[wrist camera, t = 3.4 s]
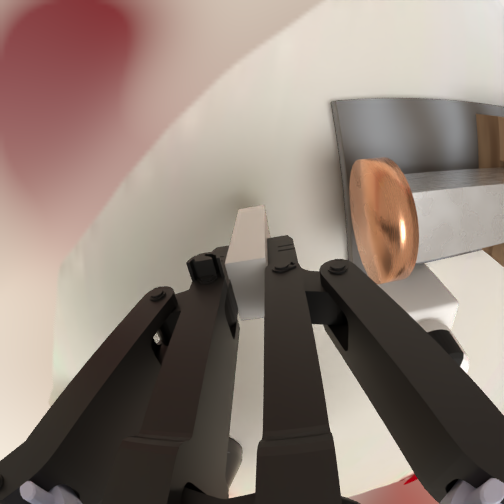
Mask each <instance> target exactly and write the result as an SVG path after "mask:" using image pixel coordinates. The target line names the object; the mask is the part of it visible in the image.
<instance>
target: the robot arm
mask: <svg viewBox="0 0 504 504" xmlns="http://www.w3.org/2000/svg"><path fill="white" fill-rule="evenodd" d="M186 264H187V267H188V270H189V273H190V276H191V279H192V284H191V286H190V289H189V290H187V291H185V292H181V293H178V294H175V293H174V291H173V289H172V288H171V287H167V286H164V287H158V288H154V289H153V290H151V291H149V292H148V293H147V294H146V295H145V296H144V297H143V298H142V299H141V300H140V301H139V302H138V303H137V305H136V306H135V307H134V308H133V309H132V310H131V311H130V312H129V314H128V315H127V316H126V317H125V318H124V319H123V320H122V322H121V323H120V324H119V325H118V326H117V327H116V328H115V330H114V331H113V332H112V333H111V334H110V335H109V336H108V338H107V339H106V340H105V341H104V342H103V344H102V345H101V346H100V347H99V348H98V349H97V351H96V352H95V353H94V354H93V355H92V357H91V358H90V359H89V360H88V361H87V363H86V364H85V365H84V366H83V367H82V369H81V370H80V371H79V372H78V374H77V375H76V376H75V377H74V378H73V380H72V381H71V382H70V383H69V385H68V386H67V387H66V388H65V390H64V391H63V392H62V393H61V395H60V396H59V397H58V399H57V400H56V401H55V402H54V404H53V405H52V406H51V408H50V409H49V410H48V411H47V413H46V414H45V416H44V417H43V418H42V419H41V421H40V422H39V424H38V425H37V426H36V427H35V429H34V430H33V432H32V433H31V434H30V436H29V437H28V438H27V440H26V441H25V442H24V443H23V444H21V445H20V446H19V447H18V448H16V449H15V450H14V451H12V452H11V453H10V454H9V455H7V456H6V457H5V458H4V459H2V460H1V461H0V504H360V503H358V502H356V501H354V500H351V499H349V498H346V497H342V496H341V494H340V485H339V477H338V469H337V461H336V454H335V447H334V441H333V436H332V433H331V432H330V428H329V421H328V415H327V408H326V402H325V396H324V390H323V384H322V378H321V372H320V366H319V361H318V355H317V349H316V344H315V339H314V333H313V328H312V324H323V325H324V328H325V331H326V332H327V334H328V335H329V337H330V338H331V340H332V341H333V343H334V345H335V346H336V348H337V349H338V351H339V352H340V354H341V355H342V357H343V359H344V360H345V362H346V363H347V365H348V366H349V368H350V370H351V371H352V373H353V374H354V376H355V377H356V379H357V381H358V382H359V384H360V385H361V387H362V388H363V390H364V392H365V393H366V395H367V396H368V398H369V400H370V401H371V403H372V404H373V406H374V408H375V409H376V411H377V412H378V414H379V416H380V417H381V419H382V420H383V422H384V424H385V425H386V427H387V429H388V430H389V432H390V433H391V435H392V437H393V438H394V440H395V442H396V443H397V445H398V447H399V448H400V450H401V451H402V453H403V455H404V456H405V458H406V460H407V461H408V463H409V465H410V466H411V468H412V470H413V471H414V473H415V475H416V476H417V478H418V479H419V481H420V482H421V484H422V485H423V486H424V488H425V489H426V490H427V491H428V492H429V494H430V495H431V496H432V497H433V498H434V499H435V500H436V501H437V502H439V504H504V416H503V414H502V413H501V412H500V411H499V410H498V408H497V407H496V406H495V405H494V404H493V403H492V401H491V400H490V399H489V398H488V397H487V396H486V395H485V393H484V392H483V391H482V390H481V389H480V388H479V387H478V386H477V384H476V383H475V382H474V381H473V380H472V379H471V378H470V377H469V376H468V375H467V373H466V372H465V371H464V370H463V369H462V368H461V367H460V366H459V365H458V364H457V363H456V362H455V361H454V360H453V358H452V357H451V356H450V355H449V354H448V353H447V352H446V351H445V350H444V349H443V348H442V347H441V346H440V345H439V344H438V343H437V342H436V341H435V340H434V339H433V338H432V337H431V336H430V335H429V334H428V333H427V332H426V331H425V330H424V329H423V328H422V327H421V326H420V325H419V324H418V323H417V322H416V321H415V320H414V319H413V318H412V317H411V316H410V315H409V314H408V313H407V312H406V311H405V310H404V309H403V308H402V307H401V306H400V305H398V304H397V303H396V302H395V301H394V300H393V299H392V298H391V297H390V296H389V295H388V294H387V293H386V292H385V291H384V290H383V289H381V288H380V287H379V286H378V285H377V284H376V283H375V282H374V281H373V280H372V279H371V278H369V277H368V276H367V275H366V274H365V273H364V272H363V271H362V270H361V269H360V268H358V267H357V266H356V265H355V264H354V263H352V262H350V261H348V260H343V259H335V260H331V261H328V262H326V263H324V264H323V265H322V266H321V267H320V272H318V271H308V270H305V269H302V268H301V267H300V265H299V264H298V261H297V256H296V252H295V247H294V243H293V239H292V238H291V237H289V236H288V235H286V236H280V237H273V238H270V232H269V227H268V222H267V216H266V211H265V206H264V205H259V206H254V207H248V208H242V209H238V213H237V217H236V221H235V225H234V229H233V233H232V237H231V241H230V245H229V246H224V247H218V248H216V249H215V250H213V251H212V252H208V253H202V254H199V255H197V256H194V257H192V258H191V259H190V260H188V262H187V263H186ZM238 313H239V317H240V320H249V319H257V318H264V402H263V437H262V440H261V441H260V442H259V444H258V449H257V466H256V492H255V493H253V494H249V495H244V496H240V497H234V498H229V494H228V492H229V488H230V485H231V483H232V481H233V479H234V477H235V475H236V473H237V471H238V469H239V467H240V465H241V462H242V448H241V446H240V445H239V444H238V443H237V442H235V441H234V440H232V439H231V438H229V430H230V420H231V410H232V400H233V390H234V380H235V370H236V360H237V350H238V340H239V330H240V328H239V323H238V320H237V314H238ZM156 332H157V334H158V336H159V338H160V341H159V342H158V343H157V344H156V343H155V341H154V339H153V337H154V335H155V334H156Z"/></svg>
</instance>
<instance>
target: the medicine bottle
mask: <svg viewBox="0 0 504 504" xmlns="http://www.w3.org/2000/svg"><path fill="white" fill-rule="evenodd" d="M367 276H368V275H367ZM368 277H369V276H368ZM377 285H378V286H379V287H380V288H381V289H383V290H384V291H385V292H386V293H387V294H388V295H389V296H390V297H391V298H392V299H393V300H394V301H395V302H396V303H397V304H398V305H400V306H401V307H402V308H403V309H404V310H405V311H406V312H407V313H408V314H409V315H410V316H411V317H412V318H413V319H414V320H415V321H416V322H417V323H418V324H419V325H420V326H421V327H422V328H423V329H424V330H425V331H426V332H427V333H428V334H429V335H430V336H431V337H432V338H433V339H434V340H435V341H436V342H437V343H438V344H439V345H440V346H441V347H442V348H443V349H444V350H445V351H446V352H447V353H448V354H449V355H450V356H451V357H452V358H453V360H454V361H455V362H456V363H457V364H458V365H459V366H460V367H461V368H462V369H463V370H464V371H465V372H466V373H467V372H468V369H469V358H468V356H467V354H466V353H465V351H464V350H463V348H462V346H461V345H460V343H459V342H458V340H457V339H456V338H455V336H454V335H453V333H452V332H451V328H452V325H453V322H454V319H455V316H456V313H457V310H458V306H459V302H458V301H457V299H456V298H455V297H454V296H453V295H452V294H451V292H450V291H449V290H448V289H447V288H446V287H445V286H444V284H443V283H442V282H441V281H440V280H439V279H438V278H437V277H436V276H435V274H434V273H433V272H432V271H431V270H430V269H429V268H428V267H427V266H426V265H425V264H424V263H422V264H418V265H415V266H414V269H413V271H412V272H411V274H410V275H409V276H408V277H407V278H405V279H402V280H397V281H393V282H388V283H383V284H377Z"/></svg>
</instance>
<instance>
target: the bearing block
mask: <svg viewBox="0 0 504 504" xmlns="http://www.w3.org/2000/svg"><path fill="white" fill-rule="evenodd" d="M331 105H332V111H333V117H334V123H335V129H336V136H337V142H338V149H339V157H340V165H341V173H342V182H343V191H344V202H345V213H346V226H347V242H348V261H350V262H352V263H354V264H355V265H356V266H357V267H358V268H360V269H361V270H362V271H363V272H364V273H365V274H366V275H368V274H367V272H366V270H365V268H364V266H363V263H362V261H361V258H360V254H359V251H358V247H357V244H356V239H355V235H354V229H353V224H352V217H351V208H350V193H349V186H350V174H351V170H352V166H353V164H354V163H355V161H357V160H361V159H370V158H381V157H386V158H389V159H391V160H392V161H394V162H395V163H396V164H397V165H398V166H399V168H400V169H401V171H402V172H403V174H412V173H423V172H435V171H448V170H464V169H483V168H504V107H502V106H496V105H489V104H482V103H474V102H465V101H454V100H441V99H420V98H375V99H353V100H338V101H333V102H331ZM479 250H484V251H485V252H486V253H487V254H489V255H490V256H491V257H492V258H493V259H495V260H496V261H497V262H498V263H499V264H501V265H502V266H503V267H504V243H501V244H497V245H493V246H489V247H485V248H481V249H477V250H473V251H469V252H464V253H460V254H456V255H451V256H447V257H442V258H438V259H433V260H429V261H424V262H419V263H415V265H418V264H422V263H427V262H432V261H436V260H441V259H445V258H449V257H454V256H458V255H462V254H467V253H471V252H475V251H479Z"/></svg>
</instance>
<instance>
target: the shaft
mask: <svg viewBox="0 0 504 504" xmlns="http://www.w3.org/2000/svg"><path fill="white" fill-rule="evenodd" d="M349 193H350V208H351V217H352V224H353V229H354V235H355V239H356V244H357V247H358V251H359V254H360V258H361V261H362V263H363V266H364V268H365V270H366V272H367V274H368V276H369V278H371V279H372V280H373V281H374V282H375V283H376V284H383V283H388V282H393V281H397V280H402V279H405V278H407V277H408V276H409V275H410V274H411V272H412V271H413V269H414V266H415V263H419V262H424V261H429V260H433V259H438V258H442V257H447V256H451V255H456V254H460V253H464V252H469V251H473V250H477V249H481V248H485V247H489V246H493V245H497V244H501V243H504V168H483V169H464V170H448V171H435V172H423V173H412V174H403V172H402V171H401V169H400V168H399V166H398V165H397V164H396V163H395V162H394V161H392V160H391V159H389V158H386V157H381V158H370V159H361V160H357V161H355V163H354V164H353V166H352V170H351V174H350V186H349Z"/></svg>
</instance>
